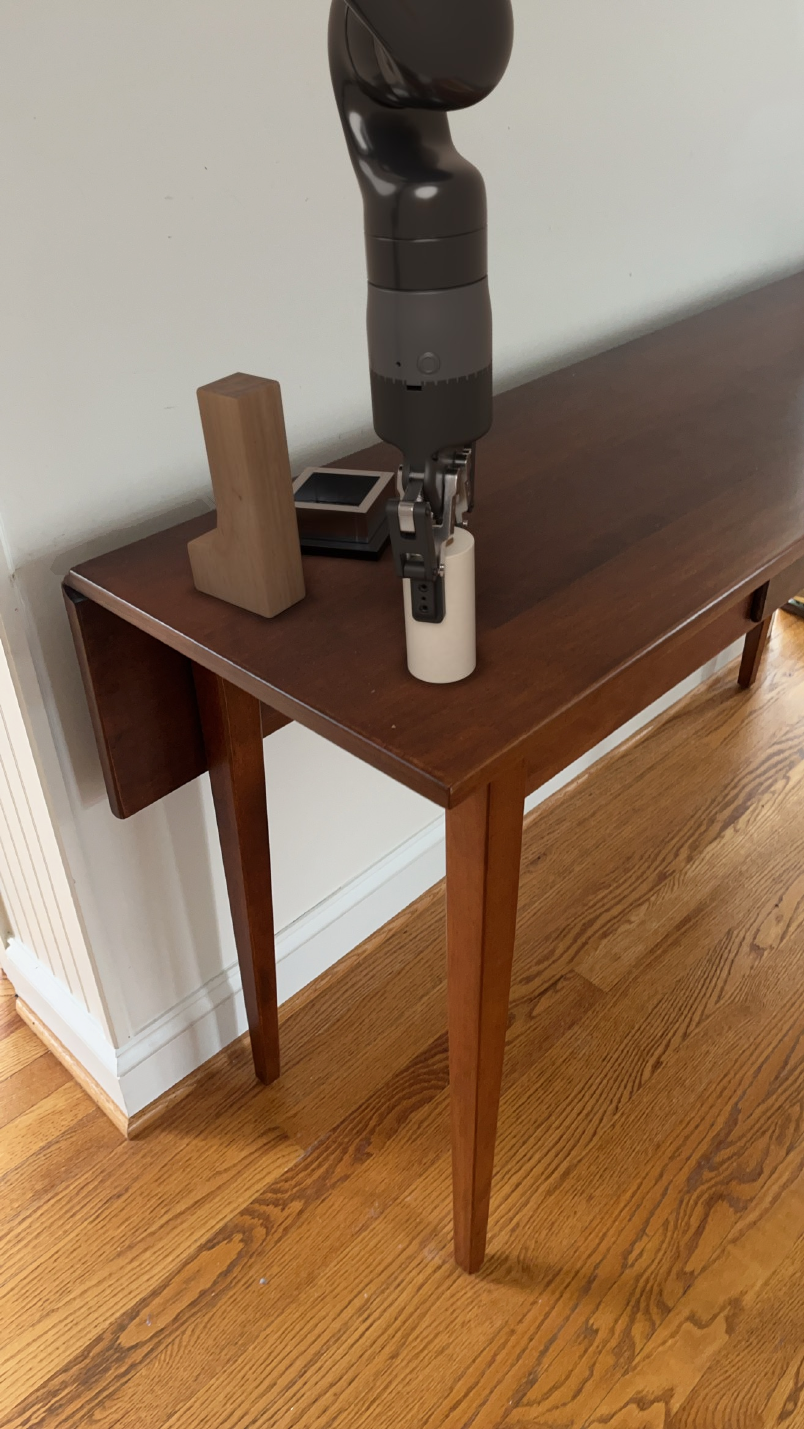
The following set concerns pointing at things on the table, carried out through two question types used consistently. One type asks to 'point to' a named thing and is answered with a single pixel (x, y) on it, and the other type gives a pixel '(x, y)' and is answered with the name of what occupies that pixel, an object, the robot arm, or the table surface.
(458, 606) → the paper roll
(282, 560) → the wooden block
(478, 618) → the table surface
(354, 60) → the robot arm
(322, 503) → the stand
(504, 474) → the table surface
